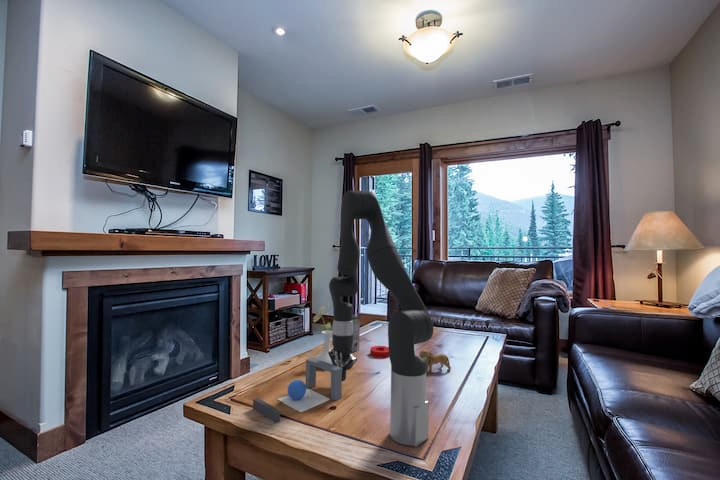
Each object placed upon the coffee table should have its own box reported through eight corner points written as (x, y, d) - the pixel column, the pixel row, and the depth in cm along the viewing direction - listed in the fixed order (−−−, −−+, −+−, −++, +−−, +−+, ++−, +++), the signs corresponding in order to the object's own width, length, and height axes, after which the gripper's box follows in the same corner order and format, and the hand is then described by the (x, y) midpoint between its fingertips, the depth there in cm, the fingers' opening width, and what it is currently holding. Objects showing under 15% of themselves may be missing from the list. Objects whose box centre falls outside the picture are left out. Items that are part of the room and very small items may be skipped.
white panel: (330, 399, 109) (330, 399, 109) (300, 412, 101) (300, 411, 101) (307, 388, 118) (307, 388, 118) (277, 399, 109) (277, 399, 109)
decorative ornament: (368, 352, 161) (368, 345, 161) (387, 351, 163) (387, 345, 163) (372, 359, 151) (372, 352, 151) (393, 358, 153) (393, 351, 153)
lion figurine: (422, 375, 132) (423, 352, 133) (416, 370, 137) (416, 348, 138) (454, 371, 137) (455, 349, 137) (447, 367, 142) (447, 345, 142)
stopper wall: (279, 421, 95) (280, 410, 95) (275, 423, 94) (275, 412, 94) (257, 407, 103) (257, 397, 103) (252, 408, 102) (253, 398, 102)
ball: (312, 391, 111) (305, 377, 109) (300, 406, 106) (292, 391, 105) (301, 387, 114) (293, 374, 113) (288, 401, 110) (280, 387, 108)
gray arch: (312, 384, 121) (312, 357, 121) (341, 397, 111) (342, 368, 111) (305, 387, 119) (306, 359, 119) (334, 400, 109) (335, 370, 109)
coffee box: (340, 347, 168) (340, 314, 168) (352, 345, 170) (352, 313, 171) (347, 352, 159) (348, 318, 160) (359, 350, 162) (360, 317, 162)
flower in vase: (326, 358, 150) (327, 302, 150) (345, 364, 142) (347, 305, 143) (304, 366, 140) (305, 305, 140) (323, 373, 132) (325, 309, 133)
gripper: (322, 330, 124) (321, 378, 123) (348, 337, 115) (347, 389, 114) (337, 327, 129) (336, 373, 129) (363, 333, 120) (362, 382, 120)
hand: (341, 380), depth 122 cm, fingers closed
